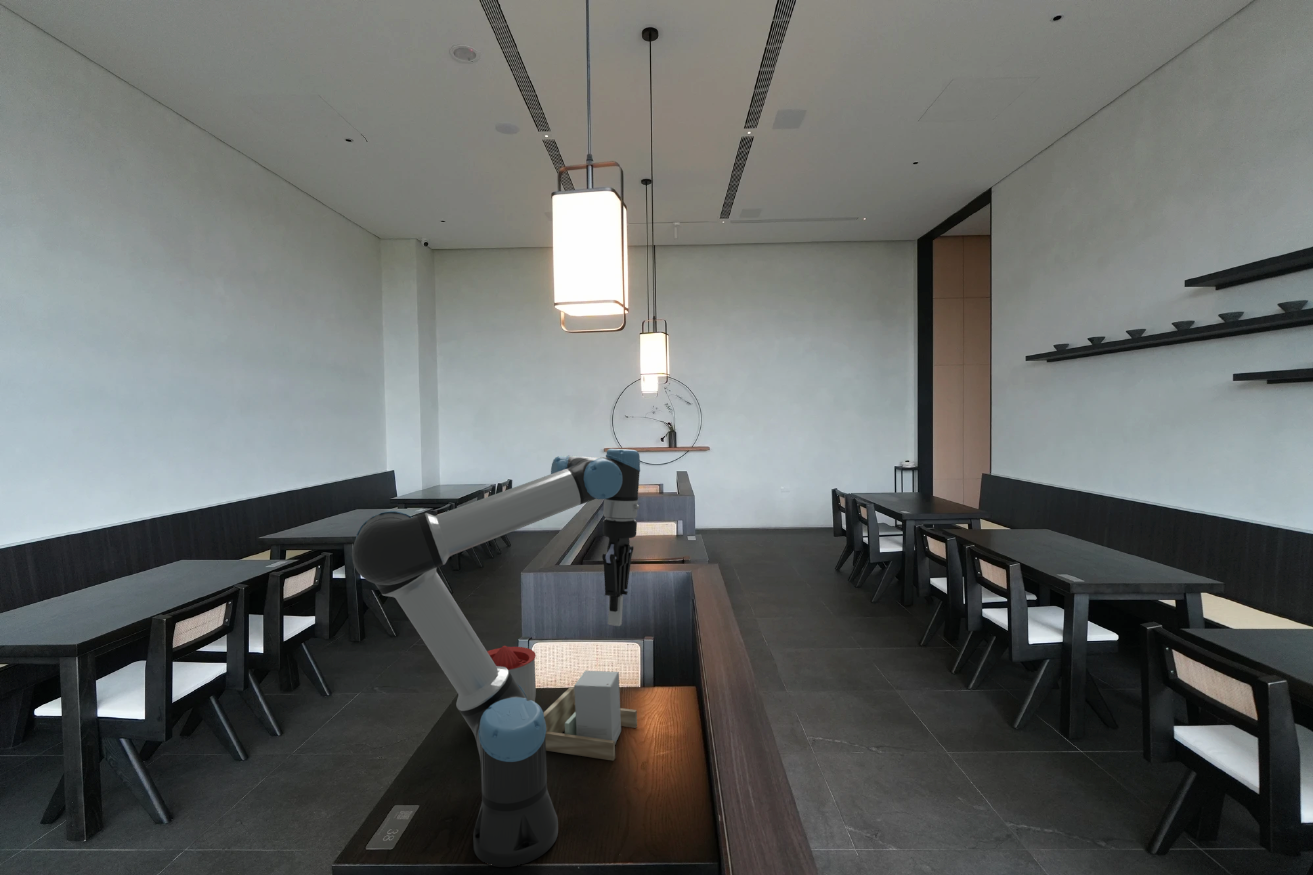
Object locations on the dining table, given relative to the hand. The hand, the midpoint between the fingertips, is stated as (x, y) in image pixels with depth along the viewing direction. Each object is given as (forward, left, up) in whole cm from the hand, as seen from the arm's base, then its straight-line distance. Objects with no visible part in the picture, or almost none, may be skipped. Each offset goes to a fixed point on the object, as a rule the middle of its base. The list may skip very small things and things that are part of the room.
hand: (614, 624), depth 131 cm
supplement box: (+9, +8, -32) cm, 34 cm away
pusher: (+9, +14, -31) cm, 35 cm away
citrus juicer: (+10, +36, -32) cm, 49 cm away
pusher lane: (+9, +11, -31) cm, 34 cm away
